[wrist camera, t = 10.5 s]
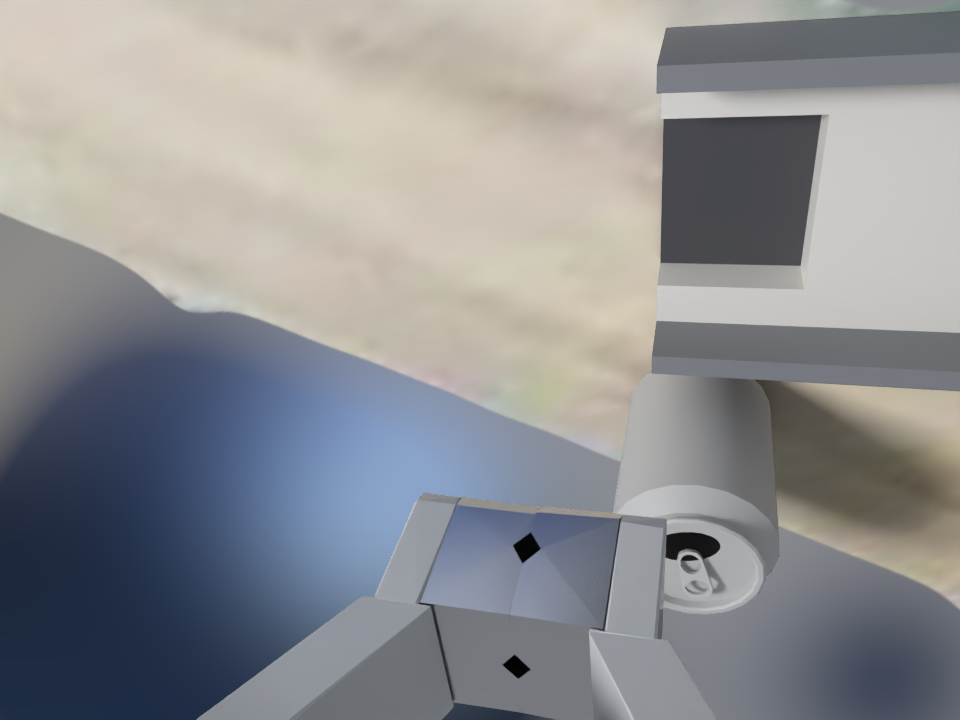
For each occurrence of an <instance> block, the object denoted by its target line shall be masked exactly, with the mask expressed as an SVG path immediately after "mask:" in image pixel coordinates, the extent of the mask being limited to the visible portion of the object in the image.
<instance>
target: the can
mask: <svg viewBox="0 0 960 720" xmlns="http://www.w3.org/2000/svg"><path fill="white" fill-rule="evenodd" d="M613 513H615V514H622V516H623V515H633V516H643V517H653V518H663V519H666V520H667V536H666V560H665V583H664V607H665V608H669V609H673V610H676V611H680V612H684V613H695V614H712V613H720V612H727V611H730V610H732V609H735V608H737V607H740V606H742V605H745V604H746V603H748V602H749V601H750V600H752V599H753V598H754V597H755V596H756V595H758V594H759V593H760V590H761V588H762V587H763V584H764V582H765V580H766V576H768V575H769V574H770V573H771V572H772V570H773V568H774V566H775V564H776V562H777V560H778V558H779V532H778V516H777V501H776V486H775V471H774V456H773V441H772V426H771V411H770V402H769V400H768V398H767V396H766V394H765V392H764V390H763V388H762V386H761V385H760V384H758V383H757V382H756V381H755V380H754V379H737V378H719V377H702V376H684V375H667V374H652V372H650V373H649V374H647V375H646V376H644V378H643V379H642V380H641V382H640V383H639V384H638V386H637V387H636V388H635V389H634V391H633V395H632V399H631V403H630V406H629V413H628V419H627V426H626V432H625V439H624V445H623V451H622V458H621V464H620V472H619V477H618V484H617V491H616V497H615V503H614V509H613Z"/></svg>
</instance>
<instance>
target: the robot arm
mask: <svg viewBox="0 0 960 720" xmlns="http://www.w3.org/2000/svg"><path fill="white" fill-rule="evenodd" d="M666 536H667V520H666V519H663V518H653V517H643V516H633V515H623V516H622V514H615V513H604V512H593V511H584V510H573V509H563V508H552V507H542V506H541V507H533V506H526V505H518V504H511V503H503V502H496V501H488V500H481V499H473V498H465V497H462V498H461V497H454V496H445V495H437V494H430V493H423V494H422V496H421V497H420V498H419V499H418V500H417V501H416V502H415V504H414V507H413V509H412V511H411V513H410V516H409V518H408V520H407V522H406V525H405V527H404V529H403V532H402V534H401V537H400V539H399V541H398V543H397V545H396V548H395V550H394V552H393V555H392V557H391V559H390V562H389V564H388V566H387V568H386V571H385V573H384V575H383V578H382V580H381V582H380V585H379V587H378V589H377V591H376V594H375V596H374V597H365V596H362V597H361V598H359V599H358V600H357V601H355V602H354V603H353V604H352V605H350V606H349V607H347V608H346V609H344V610H343V611H342V612H340V613H339V614H338V615H337V616H335V617H334V618H332V619H331V620H330V621H328V622H327V623H326V624H324V625H323V626H322V627H321V628H319V629H318V630H316V631H315V632H314V633H312V634H311V635H310V636H308V637H307V638H305V639H304V640H303V641H301V642H300V643H299V644H298V645H296V646H295V647H293V648H292V649H291V650H289V651H288V652H287V653H285V654H284V655H283V656H281V657H280V658H279V659H277V660H276V661H275V662H273V663H272V664H271V665H269V666H268V667H266V668H265V669H264V670H263V671H261V672H260V673H259V674H257V675H256V676H254V677H253V678H252V679H250V680H249V681H248V682H246V683H245V684H244V685H242V686H241V687H240V688H238V689H237V690H236V691H234V692H233V693H232V694H230V695H229V696H228V697H226V698H225V699H224V700H222V701H221V702H220V703H218V704H217V705H216V706H214V707H213V708H211V709H210V710H209V711H207V712H206V713H205V714H203V715H202V716H201V717H199V718H198V719H197V720H442V719H443V718H444V717H445V716H446V714H447V713H448V712H449V711H450V710H451V709H452V708H453V702H455V703H462V704H469V705H475V706H482V707H489V708H495V709H502V710H509V711H515V712H522V713H527V714H532V715H536V716H542V717H546V718H551V719H556V720H717V718H716V716H715V715H714V713H713V711H712V709H711V708H710V706H709V704H708V703H707V701H706V699H705V698H704V696H703V694H702V693H701V691H700V689H699V688H698V686H697V684H696V683H695V681H694V679H693V678H692V676H691V674H690V673H689V671H688V669H687V668H686V666H685V664H684V662H683V661H682V659H681V658H680V656H679V654H678V652H677V651H676V649H675V647H674V646H673V644H672V642H671V641H666V640H662V630H663V607H664V583H665V560H666Z"/></svg>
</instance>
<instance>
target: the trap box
mask: <svg viewBox="0 0 960 720" xmlns="http://www.w3.org/2000/svg"><path fill="white" fill-rule="evenodd" d="M658 93H661V119H664V132H663V176H662V220H661V263H660V271H659V278H658V285H657V323H656V330H655V338H654V346H653V353H652V374H667V375H684V376H702V377H719V378H737V379H754V380H772V381H789V382H807V383H824V384H842V385H859V386H877V387H894V388H912V389H929V390H947V391H960V11H956V12H938V13H921V14H903V15H885V16H868V17H850V18H832V19H815V20H797V21H780V22H762V23H744V24H727V25H709V26H691V27H674V28H666V31H665V35H664V39H663V43H662V48H661V52H660V56H659V60H658V64H657V94H658Z"/></svg>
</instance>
